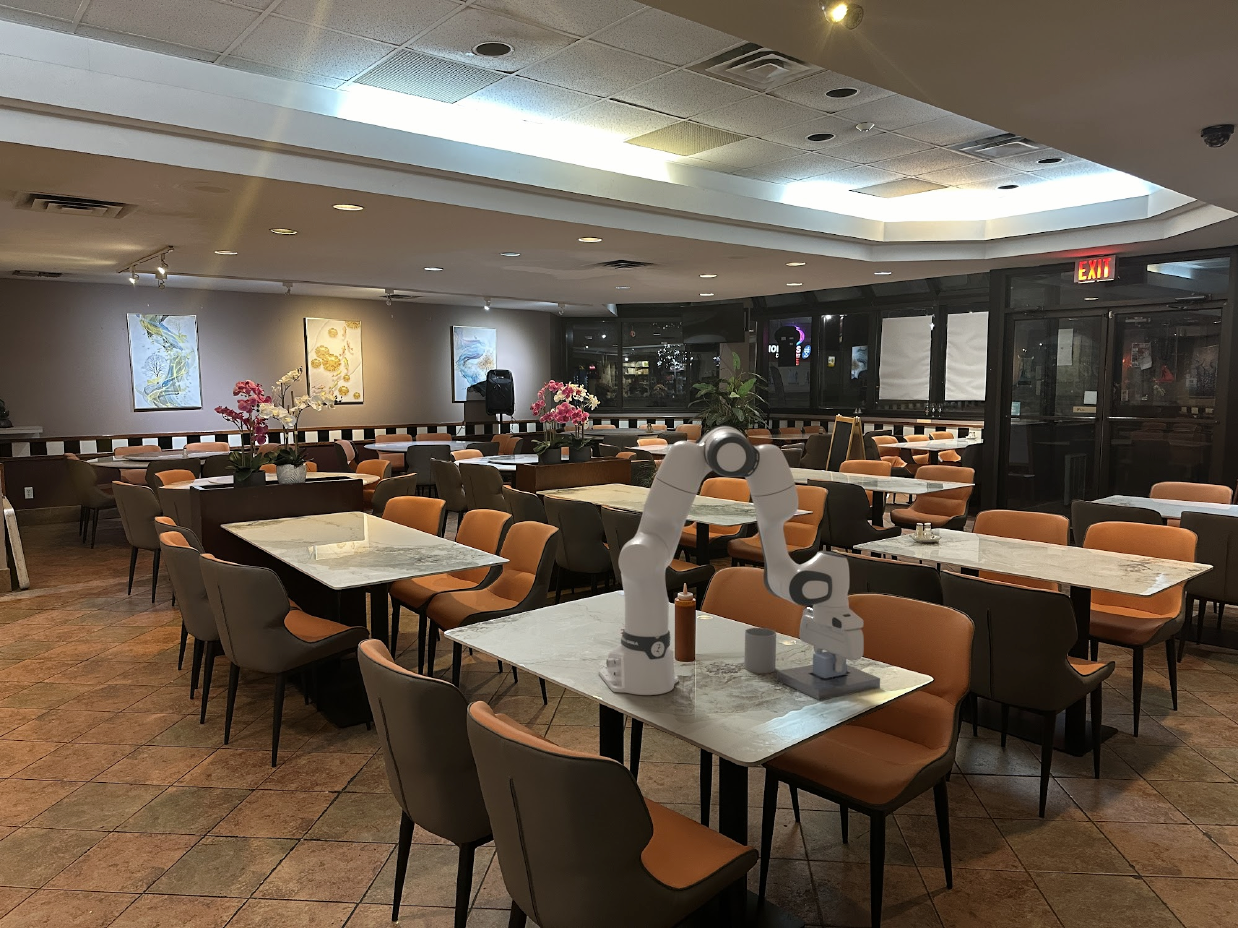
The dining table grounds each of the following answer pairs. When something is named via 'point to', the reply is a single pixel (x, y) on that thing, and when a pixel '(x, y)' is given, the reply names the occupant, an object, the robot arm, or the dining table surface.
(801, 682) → the frame
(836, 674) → the block
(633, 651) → the robot arm
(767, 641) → the cup
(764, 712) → the dining table surface
